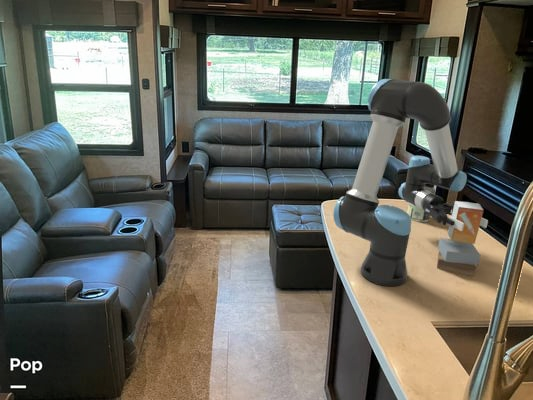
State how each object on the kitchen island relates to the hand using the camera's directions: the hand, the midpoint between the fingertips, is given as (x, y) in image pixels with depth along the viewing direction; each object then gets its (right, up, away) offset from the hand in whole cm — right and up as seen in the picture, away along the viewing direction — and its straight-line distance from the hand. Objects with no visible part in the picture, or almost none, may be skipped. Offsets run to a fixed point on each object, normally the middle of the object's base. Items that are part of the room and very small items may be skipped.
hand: (474, 225), depth 143 cm
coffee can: (-1, 0, +51) cm, 51 cm away
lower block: (-2, -15, +10) cm, 18 cm away
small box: (-2, -5, +6) cm, 8 cm away
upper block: (-2, -12, +8) cm, 14 cm away
